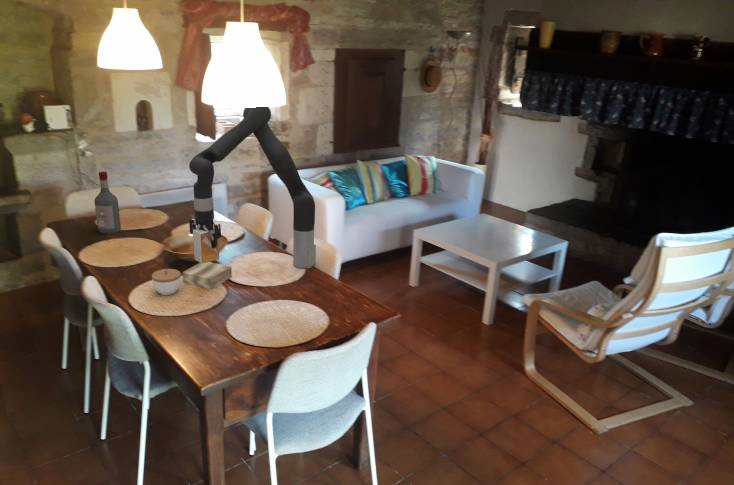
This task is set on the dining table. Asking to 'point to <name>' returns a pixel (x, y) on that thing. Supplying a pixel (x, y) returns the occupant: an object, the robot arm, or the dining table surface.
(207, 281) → the birch plinth
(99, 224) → the liquor
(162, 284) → the lidded jar
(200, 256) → the small box
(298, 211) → the robot arm
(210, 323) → the dining table surface
